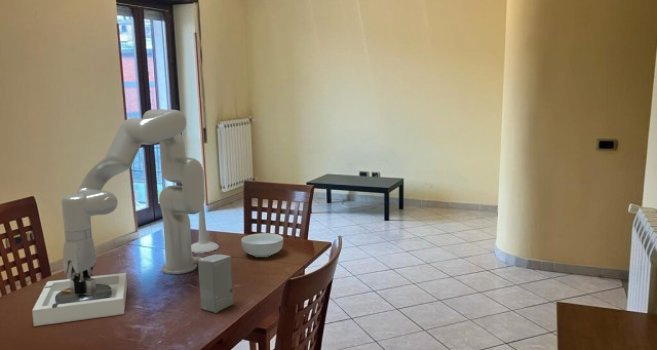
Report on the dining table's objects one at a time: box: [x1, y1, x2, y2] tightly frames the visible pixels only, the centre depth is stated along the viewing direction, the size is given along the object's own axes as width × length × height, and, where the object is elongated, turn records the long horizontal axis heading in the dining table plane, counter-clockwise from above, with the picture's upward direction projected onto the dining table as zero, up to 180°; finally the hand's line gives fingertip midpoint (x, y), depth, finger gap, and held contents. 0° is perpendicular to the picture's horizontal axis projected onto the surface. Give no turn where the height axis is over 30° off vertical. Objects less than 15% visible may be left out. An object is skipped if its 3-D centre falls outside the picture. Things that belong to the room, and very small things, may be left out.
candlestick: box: [191, 205, 220, 254], centre depth 218 cm, size 13×13×30 cm
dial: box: [55, 278, 112, 304], centre depth 163 cm, size 16×16×6 cm
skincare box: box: [197, 253, 234, 314], centre depth 160 cm, size 8×7×16 cm
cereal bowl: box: [240, 232, 284, 258], centre depth 211 cm, size 17×17×7 cm
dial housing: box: [31, 272, 128, 327], centre depth 163 cm, size 24×24×5 cm
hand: (83, 291), depth 163 cm, fingers closed on dial, 2 cm apart
